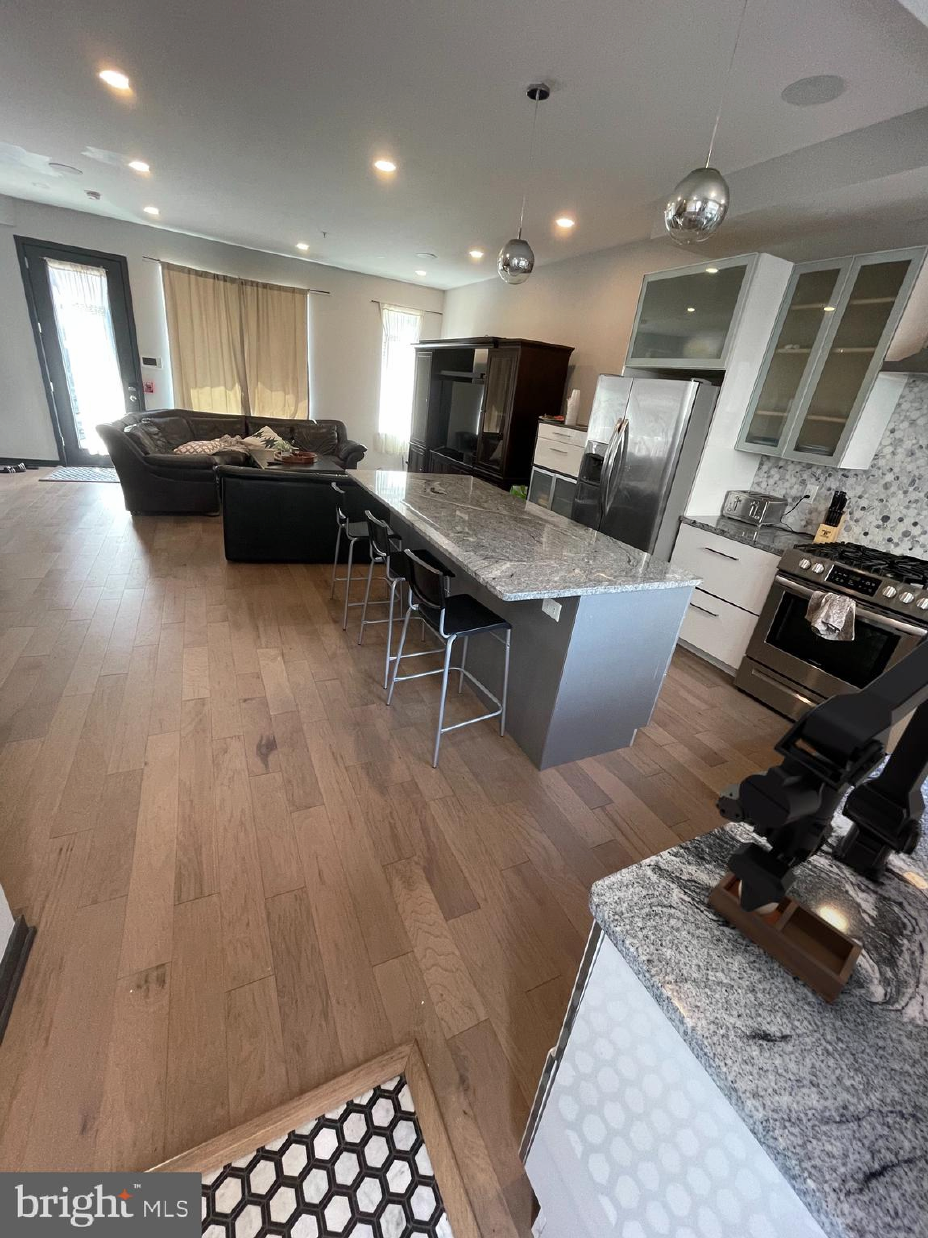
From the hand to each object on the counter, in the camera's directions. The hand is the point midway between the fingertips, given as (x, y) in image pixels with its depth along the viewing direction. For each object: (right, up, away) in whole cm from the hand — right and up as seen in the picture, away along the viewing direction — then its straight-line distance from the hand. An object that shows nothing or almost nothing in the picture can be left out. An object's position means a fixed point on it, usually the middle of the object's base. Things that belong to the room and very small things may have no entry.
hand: (758, 891), depth 68 cm
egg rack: (+2, -5, -1) cm, 5 cm away
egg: (-1, -3, +1) cm, 4 cm away
